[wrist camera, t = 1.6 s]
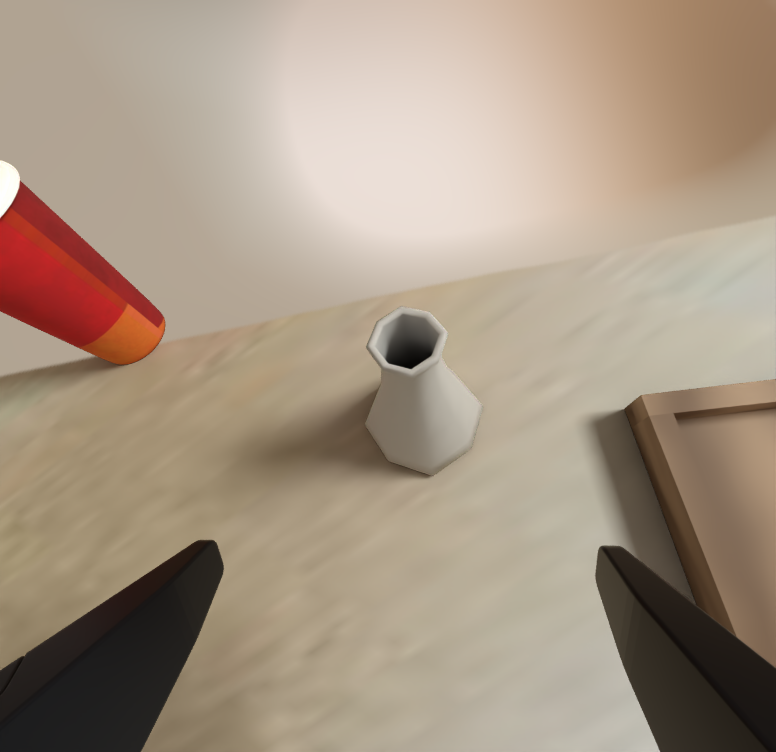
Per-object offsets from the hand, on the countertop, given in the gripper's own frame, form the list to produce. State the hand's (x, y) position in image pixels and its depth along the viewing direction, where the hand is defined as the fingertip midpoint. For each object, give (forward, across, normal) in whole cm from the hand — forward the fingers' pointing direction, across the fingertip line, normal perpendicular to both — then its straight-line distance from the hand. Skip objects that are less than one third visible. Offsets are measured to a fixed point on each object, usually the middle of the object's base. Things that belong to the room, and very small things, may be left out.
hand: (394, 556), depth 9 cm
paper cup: (+21, +24, -2) cm, 32 cm away
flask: (+15, 0, +4) cm, 16 cm away
